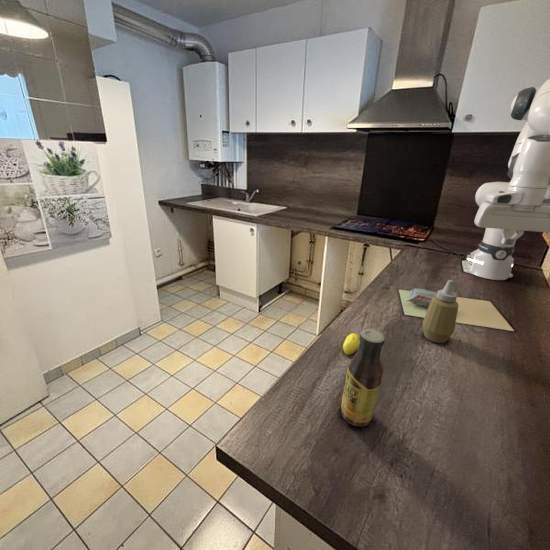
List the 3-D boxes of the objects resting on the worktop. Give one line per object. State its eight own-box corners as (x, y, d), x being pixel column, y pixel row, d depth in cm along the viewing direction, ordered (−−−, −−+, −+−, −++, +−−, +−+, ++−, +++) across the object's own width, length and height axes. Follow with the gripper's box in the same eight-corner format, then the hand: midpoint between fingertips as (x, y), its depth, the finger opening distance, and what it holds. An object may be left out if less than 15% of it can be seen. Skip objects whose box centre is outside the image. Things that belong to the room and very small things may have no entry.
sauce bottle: (336, 404, 61) (347, 323, 53) (365, 402, 61) (380, 322, 54) (346, 431, 55) (360, 345, 47) (377, 429, 55) (397, 344, 48)
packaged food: (442, 314, 96) (446, 301, 94) (404, 305, 101) (407, 292, 99) (443, 304, 103) (447, 291, 101) (407, 295, 108) (410, 283, 106)
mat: (398, 289, 113) (398, 289, 113) (489, 301, 105) (489, 301, 105) (404, 314, 95) (404, 314, 95) (514, 331, 88) (514, 331, 88)
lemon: (338, 353, 76) (339, 341, 75) (349, 339, 82) (350, 327, 81) (353, 360, 74) (355, 347, 73) (363, 344, 80) (365, 332, 79)
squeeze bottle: (447, 332, 86) (464, 277, 79) (453, 348, 79) (472, 289, 72) (418, 327, 89) (431, 273, 82) (421, 342, 82) (436, 284, 75)
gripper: (560, 198, 83) (542, 244, 89) (479, 193, 88) (467, 238, 94) (575, 201, 78) (554, 250, 83) (487, 196, 83) (473, 243, 88)
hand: (507, 243), depth 88 cm, fingers closed
